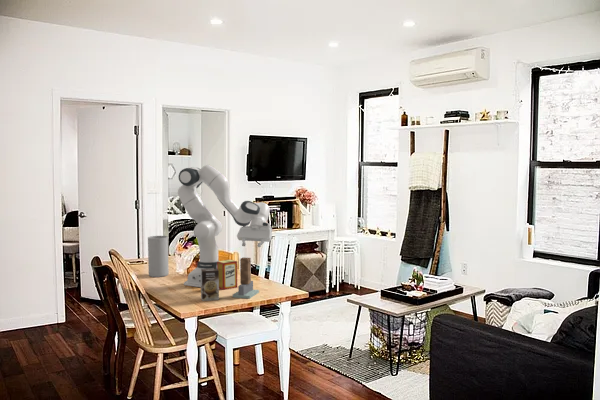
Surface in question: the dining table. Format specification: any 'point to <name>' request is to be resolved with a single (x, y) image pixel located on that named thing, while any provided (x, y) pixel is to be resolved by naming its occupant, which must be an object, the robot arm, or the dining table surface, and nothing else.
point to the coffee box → (209, 284)
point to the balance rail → (245, 291)
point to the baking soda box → (227, 274)
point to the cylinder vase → (158, 256)
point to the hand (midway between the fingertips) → (251, 246)
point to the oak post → (245, 270)
